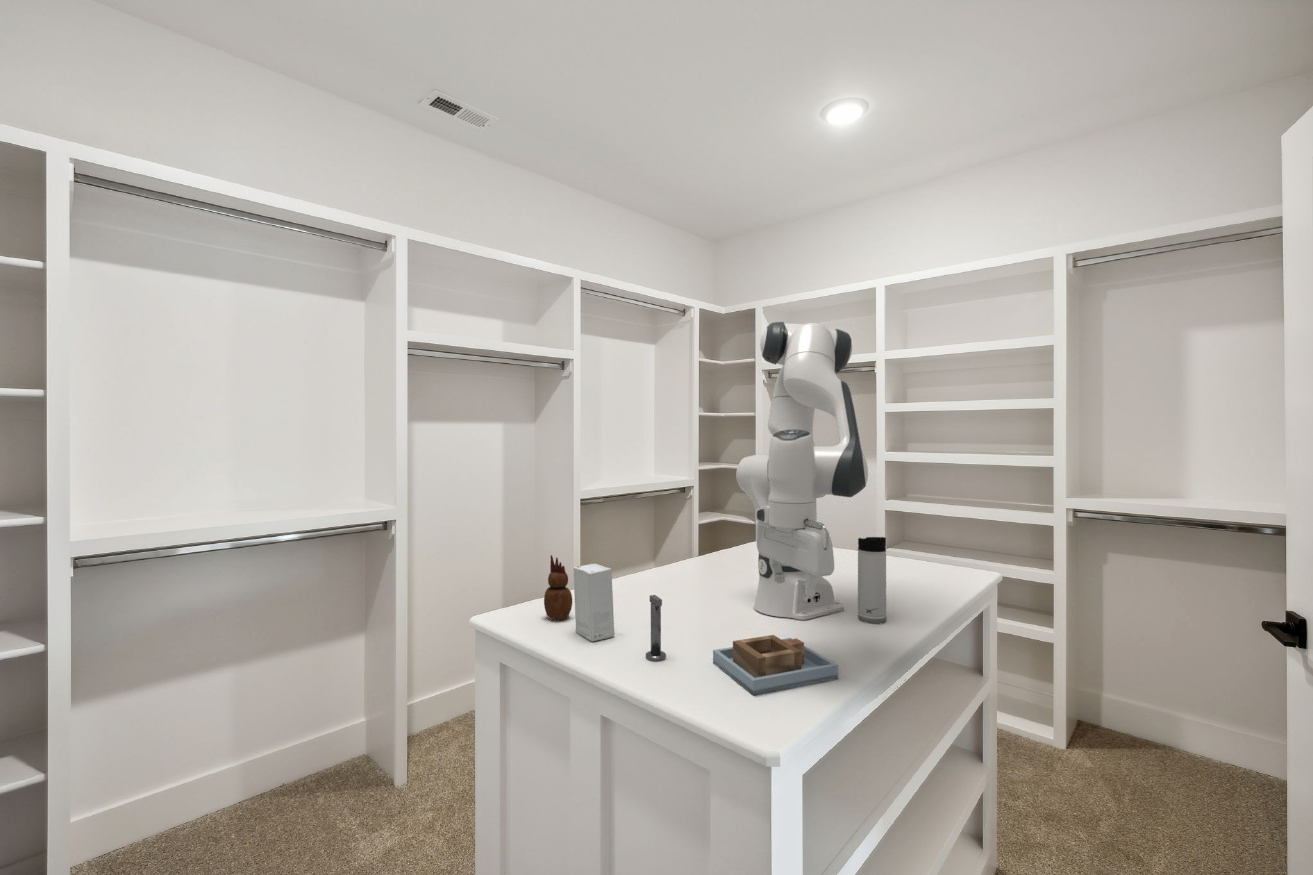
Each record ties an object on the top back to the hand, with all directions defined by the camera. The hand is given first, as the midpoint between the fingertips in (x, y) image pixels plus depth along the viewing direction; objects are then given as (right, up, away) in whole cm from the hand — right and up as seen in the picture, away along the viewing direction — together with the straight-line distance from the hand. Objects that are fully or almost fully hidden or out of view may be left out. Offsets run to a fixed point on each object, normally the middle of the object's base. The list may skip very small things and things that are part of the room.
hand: (793, 588), depth 107 cm
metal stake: (-26, -15, +4) cm, 30 cm away
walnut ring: (-4, -14, -2) cm, 15 cm away
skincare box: (-40, -15, +17) cm, 46 cm away
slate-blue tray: (-4, -15, -2) cm, 15 cm away
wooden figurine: (-50, -15, +28) cm, 59 cm away
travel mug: (+25, -15, +27) cm, 40 cm away
